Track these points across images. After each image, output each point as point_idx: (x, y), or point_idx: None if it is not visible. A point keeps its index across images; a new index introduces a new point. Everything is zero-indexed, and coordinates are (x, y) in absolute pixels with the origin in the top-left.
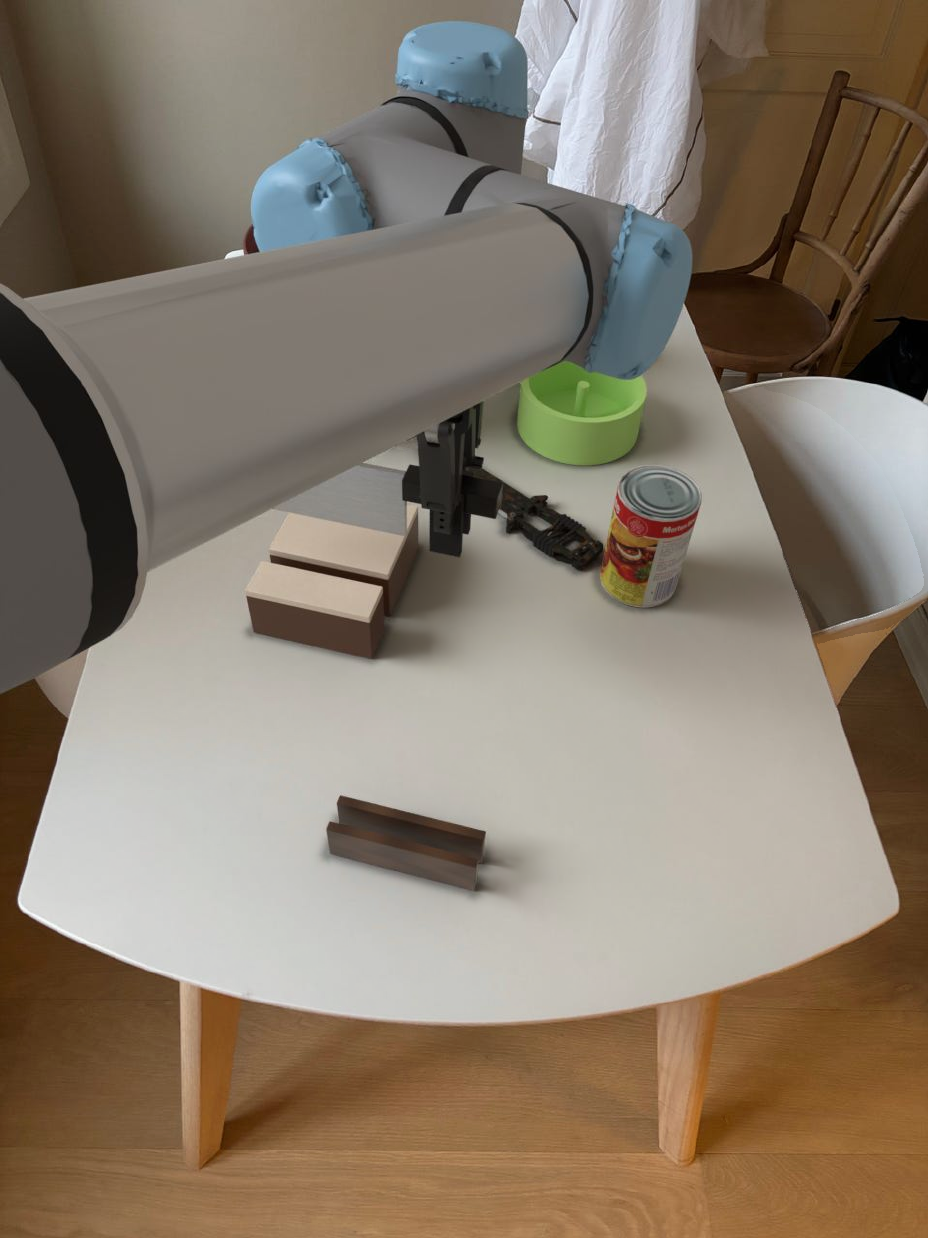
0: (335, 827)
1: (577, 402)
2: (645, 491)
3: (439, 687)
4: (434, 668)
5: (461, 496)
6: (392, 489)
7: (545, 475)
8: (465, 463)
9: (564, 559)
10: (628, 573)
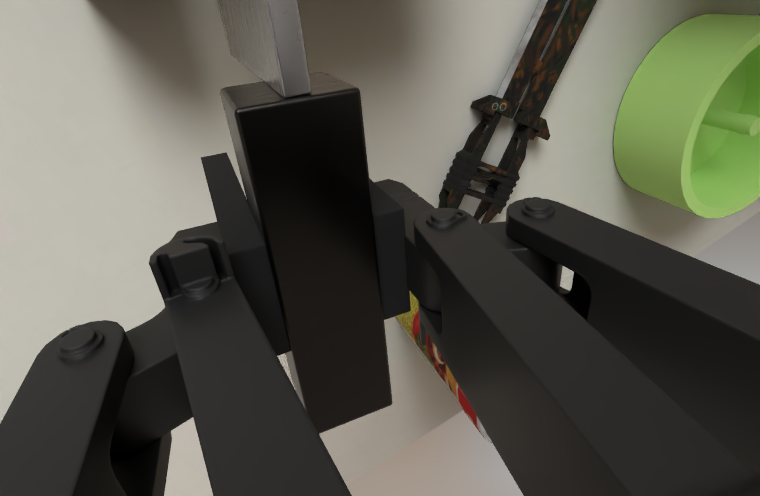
0: None
1: (722, 117)
2: None
3: (106, 149)
4: (140, 121)
5: (274, 351)
6: (251, 23)
7: (591, 107)
8: (422, 305)
9: (443, 204)
10: (419, 327)
